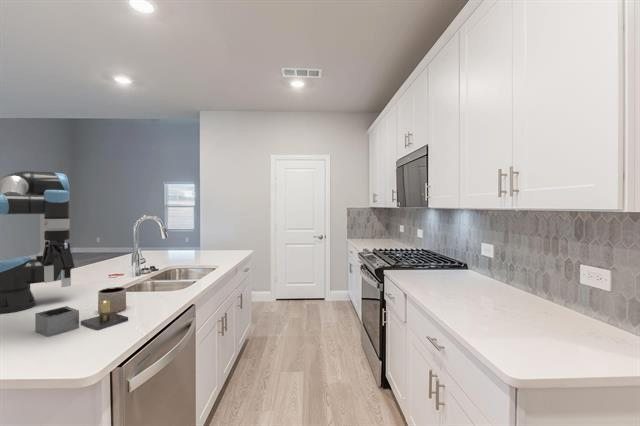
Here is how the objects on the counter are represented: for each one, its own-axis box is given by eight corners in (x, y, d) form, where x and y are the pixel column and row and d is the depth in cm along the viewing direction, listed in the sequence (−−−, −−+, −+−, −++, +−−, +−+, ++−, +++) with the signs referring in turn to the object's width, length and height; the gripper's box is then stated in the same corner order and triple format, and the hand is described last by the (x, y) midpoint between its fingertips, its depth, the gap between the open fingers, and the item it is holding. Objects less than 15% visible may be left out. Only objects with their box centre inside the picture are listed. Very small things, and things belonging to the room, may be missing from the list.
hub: (80, 324, 127) (80, 302, 127) (111, 315, 137) (111, 295, 137) (96, 330, 121) (96, 307, 121) (128, 320, 132) (128, 299, 132)
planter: (93, 315, 138) (93, 293, 137) (103, 307, 148) (103, 287, 148) (121, 313, 140) (121, 292, 140) (129, 306, 151) (129, 286, 151)
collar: (35, 331, 120) (35, 313, 119) (66, 323, 128) (66, 306, 128) (47, 336, 115) (47, 318, 115) (78, 327, 124) (78, 310, 124)
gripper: (30, 229, 123) (30, 282, 124) (61, 231, 112) (61, 290, 112) (53, 228, 130) (53, 278, 130) (85, 230, 118) (85, 286, 119)
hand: (57, 284), depth 121 cm, fingers open, 13 cm apart
